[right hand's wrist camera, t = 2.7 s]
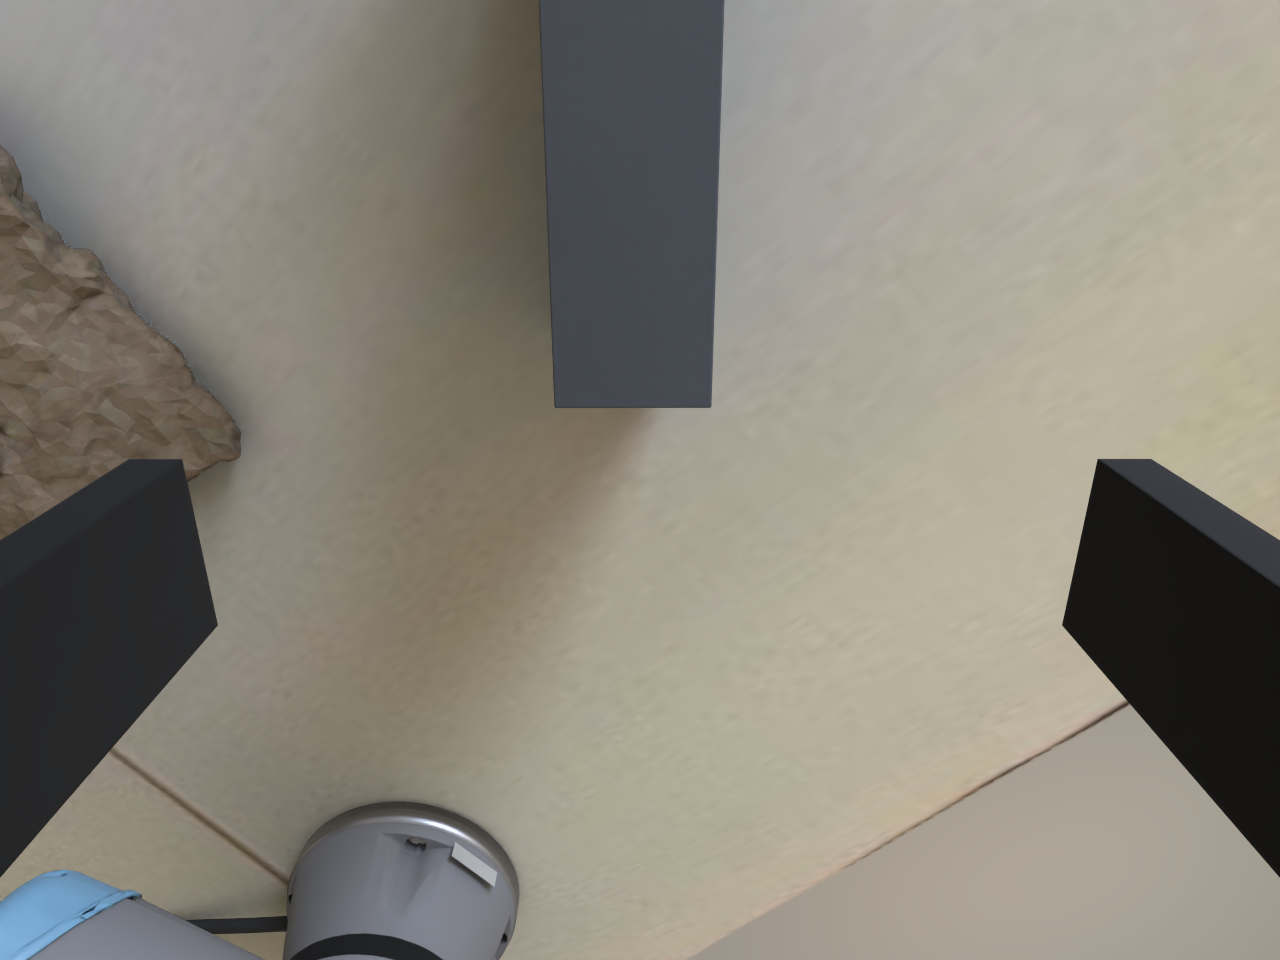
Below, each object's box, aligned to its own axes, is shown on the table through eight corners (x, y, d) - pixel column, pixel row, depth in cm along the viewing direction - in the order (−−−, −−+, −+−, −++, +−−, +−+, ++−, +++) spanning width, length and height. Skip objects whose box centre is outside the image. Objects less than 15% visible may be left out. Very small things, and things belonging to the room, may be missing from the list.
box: (691, 339, 45) (711, 407, 33) (575, 339, 45) (554, 408, 33) (705, -266, 36) (739, -462, 24) (558, -266, 36) (520, -463, 24)
